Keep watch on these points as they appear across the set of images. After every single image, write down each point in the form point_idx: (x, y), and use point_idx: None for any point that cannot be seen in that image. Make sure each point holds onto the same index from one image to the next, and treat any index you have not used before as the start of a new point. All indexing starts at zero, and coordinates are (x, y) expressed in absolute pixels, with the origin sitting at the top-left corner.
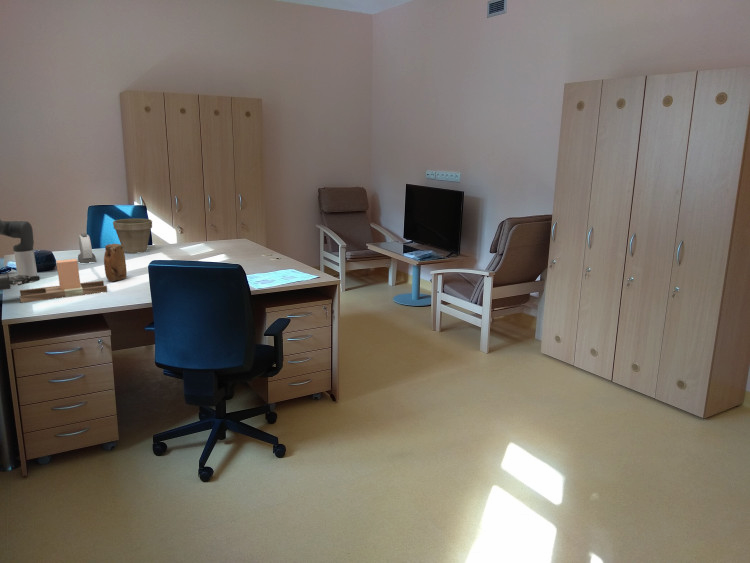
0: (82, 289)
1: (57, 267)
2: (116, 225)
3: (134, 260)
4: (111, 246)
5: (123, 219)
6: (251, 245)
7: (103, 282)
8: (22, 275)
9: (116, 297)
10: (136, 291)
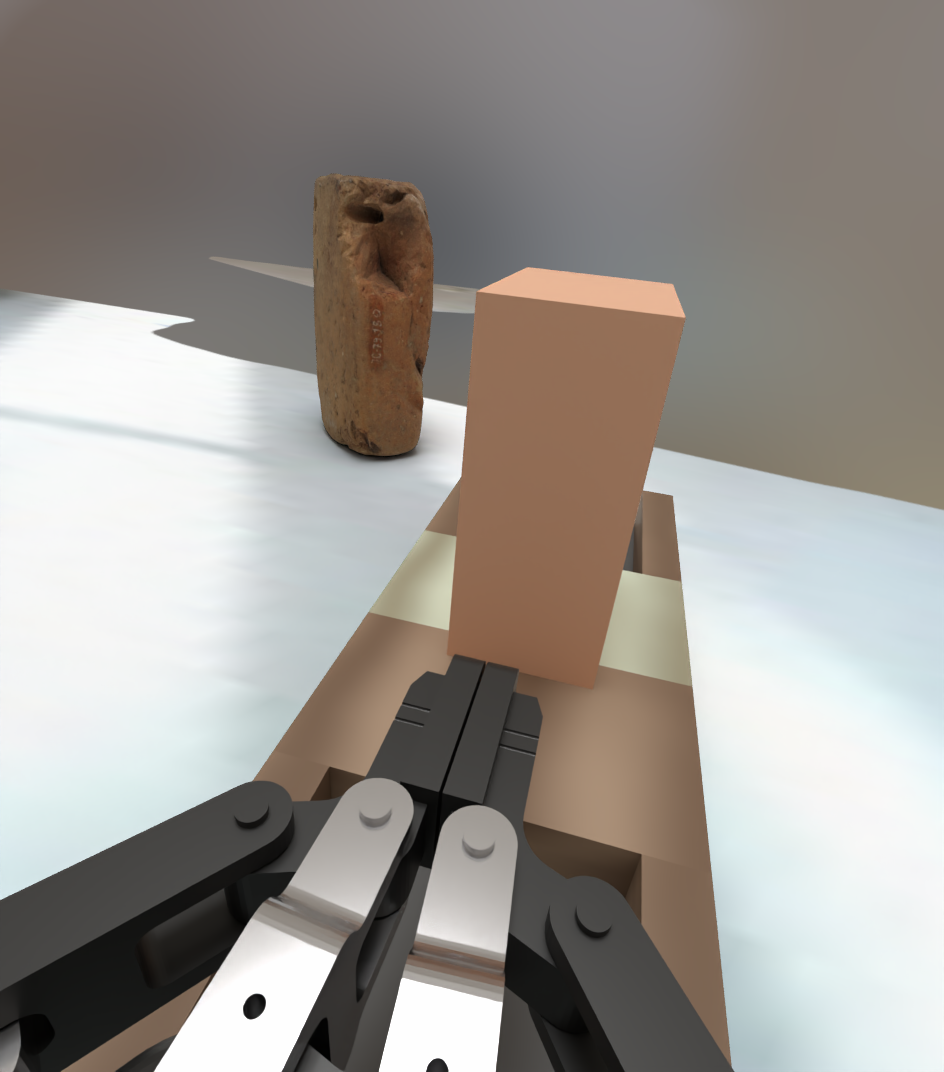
0: (680, 585)
1: (603, 402)
2: None
3: (72, 332)
4: (406, 186)
5: None
6: (306, 269)
7: None
8: (47, 907)
9: (855, 554)
10: (735, 480)
